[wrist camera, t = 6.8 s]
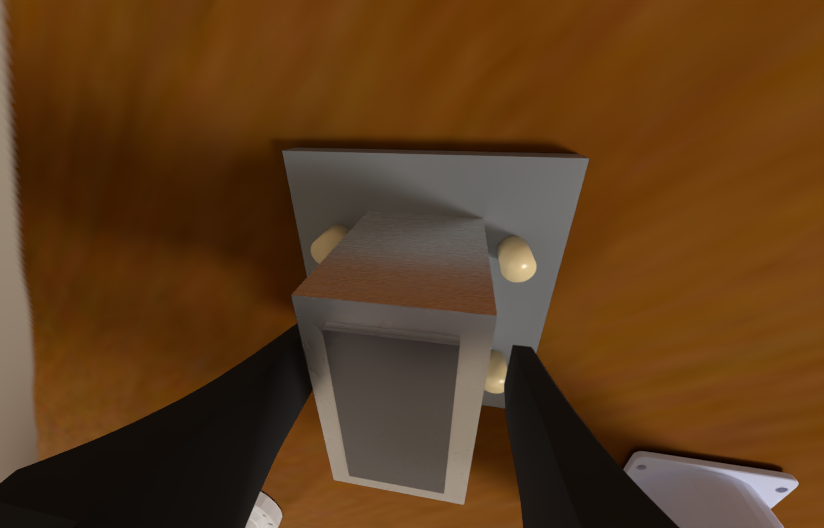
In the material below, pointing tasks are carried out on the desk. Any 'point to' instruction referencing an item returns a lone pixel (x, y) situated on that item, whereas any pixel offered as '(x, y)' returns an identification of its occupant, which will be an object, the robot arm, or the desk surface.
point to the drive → (401, 350)
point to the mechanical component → (264, 513)
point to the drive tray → (460, 197)
